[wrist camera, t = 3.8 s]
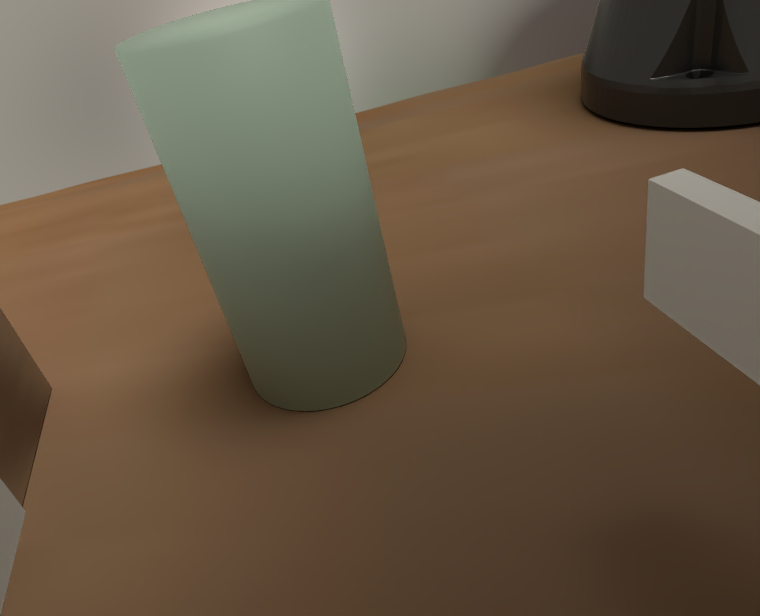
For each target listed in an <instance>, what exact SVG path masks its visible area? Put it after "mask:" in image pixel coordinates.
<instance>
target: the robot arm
mask: <svg viewBox="0 0 760 616" xmlns="http://www.w3.org/2000/svg"><path fill="white" fill-rule="evenodd" d="M581 98H582V101H583V103H584V105H585V106H586V107H587V108H588V109H590V110H591V111H593V112H595V113H597V114H599V115H601V116H604V117H606V118H610V119H613V120H617V121H621V122H626V123H631V124H638V125H645V126H656V127H675V128H700V127H720V126H732V125H742V124H750V123H757V122H760V0H600V1H599V4H598V8H597V12H596V15H595V18H594V22H593V25H592V29H591V33H590V36H589V41H588V44H587V48H586V51H585V53H584V56H583V59H582V64H581ZM643 298H645V299H646V300H647V301H649V302H650V303H651V304H652V305H654V306H655V307H656V308H658V309H659V310H660V311H662V312H663V313H664V314H666V315H667V316H668V317H670V318H671V319H672V320H674V321H675V322H676V323H678V324H679V325H680V326H682V327H683V328H684V329H686V330H687V331H688V332H690V333H691V334H692V335H694V336H695V337H696V338H698V339H699V340H700V341H702V342H703V343H704V344H705V345H707V346H708V347H709V348H711V349H712V350H713V351H715V352H716V353H717V354H719V355H720V356H721V357H723V358H724V359H725V360H727V361H728V362H729V363H731V364H732V365H733V366H735V367H736V368H737V369H739V370H740V371H741V372H743V373H744V374H745V375H747V376H748V377H749V378H751V379H752V380H753V381H755V382H756V383H757V384H758V385H760V202H758V201H756V200H754V199H752V198H749V197H747V196H745V195H743V194H740V193H738V192H736V191H734V190H731V189H729V188H727V187H725V186H722V185H720V184H718V183H716V182H713V181H711V180H709V179H707V178H704V177H702V176H700V175H698V174H695V173H693V172H691V171H689V170H686V169H684V168H682V169H679V170H676V171H673V172H670V173H667V174H663V175H660V176H657V177H654V178H651V179H649V180H648V203H647V226H646V250H645V273H644V296H643ZM25 514H26V511H25V510H24V508H23V507H22V506H21V505H20V503H19V502H18V501H17V499H16V498H15V497H14V495H13V494H12V493H11V492H10V490H9V489H8V488H7V486H6V485H5V484H4V482H3V481H2V480H1V479H0V615H1V611H2V607H3V603H4V598H5V594H6V590H7V586H8V582H9V578H10V574H11V570H12V566H13V562H14V558H15V554H16V550H17V546H18V542H19V538H20V534H21V530H22V526H23V522H24V518H25Z"/></svg>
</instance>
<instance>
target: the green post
mask: <svg viewBox="0 0 760 616" xmlns="http://www.w3.org/2000/svg"><path fill="white" fill-rule="evenodd" d="M115 52H116V54H117V57H118V59H119V62H120V64H121V66H122V69H123V71H124V74H125V76H126V79H127V81H128V83H129V86H130V88H131V91H132V93H133V96H134V98H135V100H136V103H137V105H138V107H139V110H140V113H141V115H142V117H143V120H144V122H145V125H146V127H147V129H148V132H149V134H150V137H151V139H152V142H153V144H154V146H155V149H156V151H157V154H158V156H159V158H160V161H161V163H162V166H163V168H164V171H165V173H166V176H167V178H168V180H169V183H170V185H171V188H172V190H173V192H174V195H175V197H176V200H177V202H178V205H179V207H180V209H181V212H182V214H183V217H184V219H185V222H186V224H187V226H188V229H189V231H190V234H191V236H192V239H193V241H194V243H195V246H196V248H197V251H198V253H199V255H200V258H201V260H202V263H203V265H204V268H205V270H206V272H207V275H208V277H209V280H210V282H211V285H212V287H213V289H214V292H215V294H216V297H217V299H218V302H219V304H220V306H221V309H222V311H223V314H224V316H225V318H226V321H227V323H228V326H229V328H230V331H231V333H232V335H233V338H234V340H235V343H236V345H237V348H238V350H239V352H240V355H241V357H242V360H243V362H244V365H245V367H246V369H247V372H248V374H249V377H250V379H251V381H252V384H253V386H254V388H255V390H256V392H257V393H258V394H259V396H260V397H261V398H262V399H264V400H265V401H267V402H268V403H270V404H272V405H274V406H277V407H280V408H283V409H288V410H293V411H317V410H325V409H329V408H334V407H338V406H341V405H344V404H347V403H350V402H352V401H355V400H357V399H359V398H361V397H363V396H365V395H367V394H369V393H370V392H372V391H374V390H375V389H377V388H378V387H379V386H381V385H382V384H383V383H384V382H386V381H387V380H388V379H389V378H390V377H391V376H392V375H393V373H394V372H395V371H396V370H397V369H398V367H399V365H400V364H401V362H402V360H403V357H404V355H405V350H406V339H405V334H404V330H403V325H402V321H401V317H400V312H399V308H398V303H397V299H396V294H395V290H394V285H393V281H392V276H391V272H390V267H389V263H388V259H387V254H386V250H385V245H384V241H383V236H382V232H381V227H380V223H379V218H378V214H377V209H376V205H375V201H374V196H373V192H372V187H371V183H370V178H369V174H368V169H367V165H366V160H365V156H364V151H363V147H362V143H361V138H360V134H359V129H358V125H357V120H356V116H355V111H354V107H353V102H352V98H351V93H350V89H349V85H348V80H347V76H346V71H345V67H344V63H343V58H342V53H341V49H340V44H339V40H338V35H337V31H336V27H335V22H334V18H333V13H332V9H331V4H330V0H252V1H247V2H243V3H238V4H234V5H230V6H226V7H222V8H218V9H214V10H210V11H207V12H203V13H200V14H196V15H192V16H189V17H186V18H183V19H180V20H176V21H173V22H170V23H167V24H164V25H161V26H158V27H155V28H153V29H150V30H147V31H145V32H142V33H140V34H137V35H135V36H133V37H131V38H128V39H126V40H125V41H123V42H121V43H120V44H118V45H117V46H116V47H115Z"/></svg>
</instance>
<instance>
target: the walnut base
mask: <svg viewBox="0 0 760 616" xmlns="http://www.w3.org/2000/svg"><path fill="white" fill-rule="evenodd" d="M51 389H52V388H51V386H50V385H49V383H48V382H47V380H46V378H45V377H44V375H43V374H42V372H41V371H40V369H39V368H38V366H37V364H36V363H35V361H34V360H33V358H32V357H31V355H30V354H29V352H28V350H27V349H26V347H25V346H24V344H23V343H22V341H21V340H20V338H19V336H18V335H17V333H16V332H15V330H14V329H13V327H12V326H11V324H10V322H9V321H8V319H7V318H6V316H5V315H4V313H3V312H2V310H1V308H0V479H1V480H2V481H3V482H4V484H5V485H6V486H7V488H8V489H9V490H10V492H11V493H12V494H13V495H14V497H15V498H16V499H17V501H18V502H19V503H20V505H21V506H22V504H23V500H24V496H25V492H26V488H27V484H28V480H29V476H30V472H31V468H32V464H33V460H34V456H35V452H36V448H37V444H38V440H39V436H40V432H41V428H42V424H43V421H44V417H45V413H46V409H47V405H48V401H49V397H50V393H51Z"/></svg>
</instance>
